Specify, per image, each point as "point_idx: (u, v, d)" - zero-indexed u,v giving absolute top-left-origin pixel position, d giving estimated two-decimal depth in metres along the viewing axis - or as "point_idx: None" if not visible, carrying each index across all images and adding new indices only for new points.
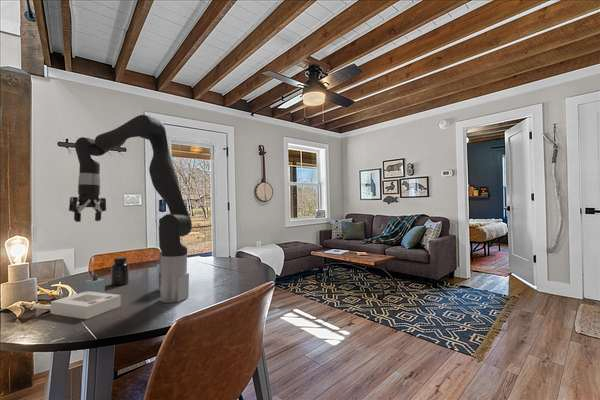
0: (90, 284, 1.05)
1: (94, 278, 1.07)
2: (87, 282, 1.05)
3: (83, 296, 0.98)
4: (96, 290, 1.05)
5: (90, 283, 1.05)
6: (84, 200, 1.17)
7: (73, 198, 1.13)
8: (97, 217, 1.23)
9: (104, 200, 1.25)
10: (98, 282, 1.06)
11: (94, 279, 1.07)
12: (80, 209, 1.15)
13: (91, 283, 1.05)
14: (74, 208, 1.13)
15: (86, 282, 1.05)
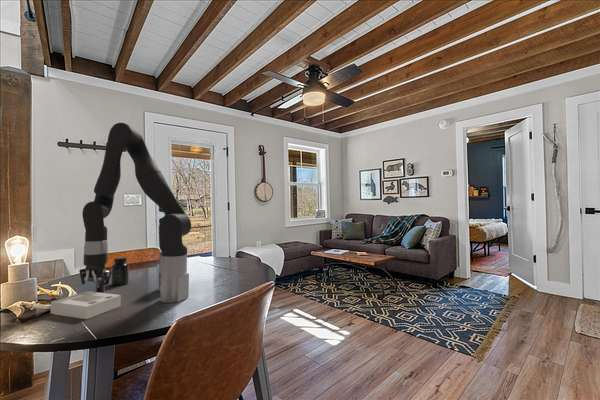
0: (90, 284, 1.05)
1: None
2: (87, 282, 1.05)
3: (83, 296, 0.98)
4: (96, 290, 1.05)
5: (90, 283, 1.05)
6: None
7: (110, 272, 1.06)
8: None
9: None
10: None
11: None
12: None
13: (91, 283, 1.05)
14: None
15: (86, 282, 1.05)
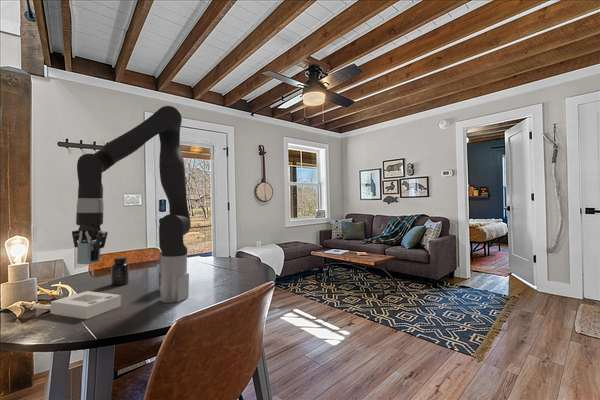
0: (83, 246, 0.93)
1: None
2: (80, 244, 0.94)
3: (83, 296, 0.98)
4: (90, 253, 0.94)
5: (83, 245, 0.93)
6: None
7: (105, 234, 0.95)
8: None
9: None
10: None
11: None
12: None
13: (85, 245, 0.93)
14: None
15: (79, 244, 0.94)
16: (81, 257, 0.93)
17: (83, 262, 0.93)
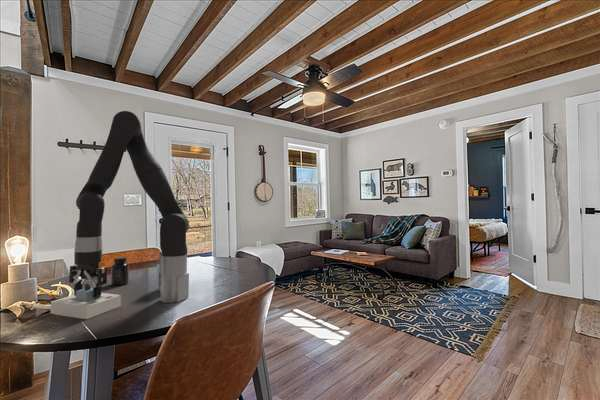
0: (82, 294, 0.93)
1: (86, 287, 0.94)
2: (78, 292, 0.93)
3: None
4: (88, 301, 0.93)
5: (82, 293, 0.93)
6: None
7: (105, 269, 0.94)
8: None
9: None
10: (91, 292, 0.94)
11: (86, 288, 0.94)
12: None
13: (83, 293, 0.93)
14: None
15: (77, 292, 0.93)
16: None
17: None
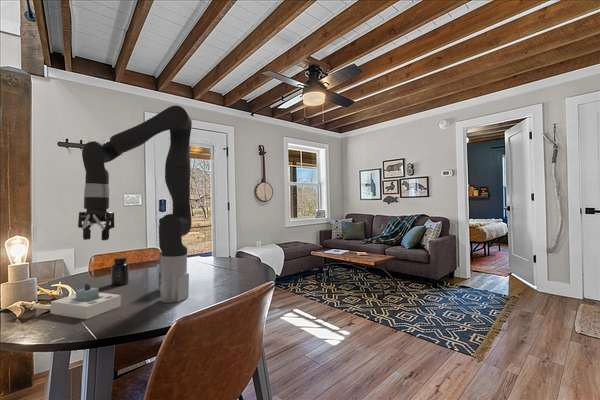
0: (82, 294, 0.93)
1: (86, 287, 0.94)
2: (78, 292, 0.93)
3: None
4: (88, 301, 0.93)
5: (82, 293, 0.93)
6: None
7: (112, 213, 1.01)
8: (88, 235, 1.03)
9: None
10: (91, 292, 0.94)
11: (86, 289, 0.94)
12: None
13: (83, 293, 0.93)
14: None
15: (77, 292, 0.93)
16: None
17: None
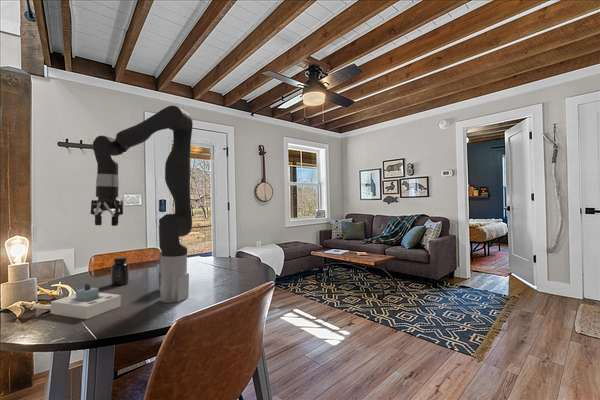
0: (82, 294, 0.93)
1: (86, 287, 0.94)
2: (78, 292, 0.93)
3: None
4: (88, 301, 0.93)
5: (82, 293, 0.93)
6: None
7: (121, 201, 1.11)
8: (99, 221, 1.13)
9: None
10: (91, 292, 0.94)
11: (86, 289, 0.94)
12: None
13: (83, 293, 0.93)
14: None
15: (77, 292, 0.93)
16: None
17: None
